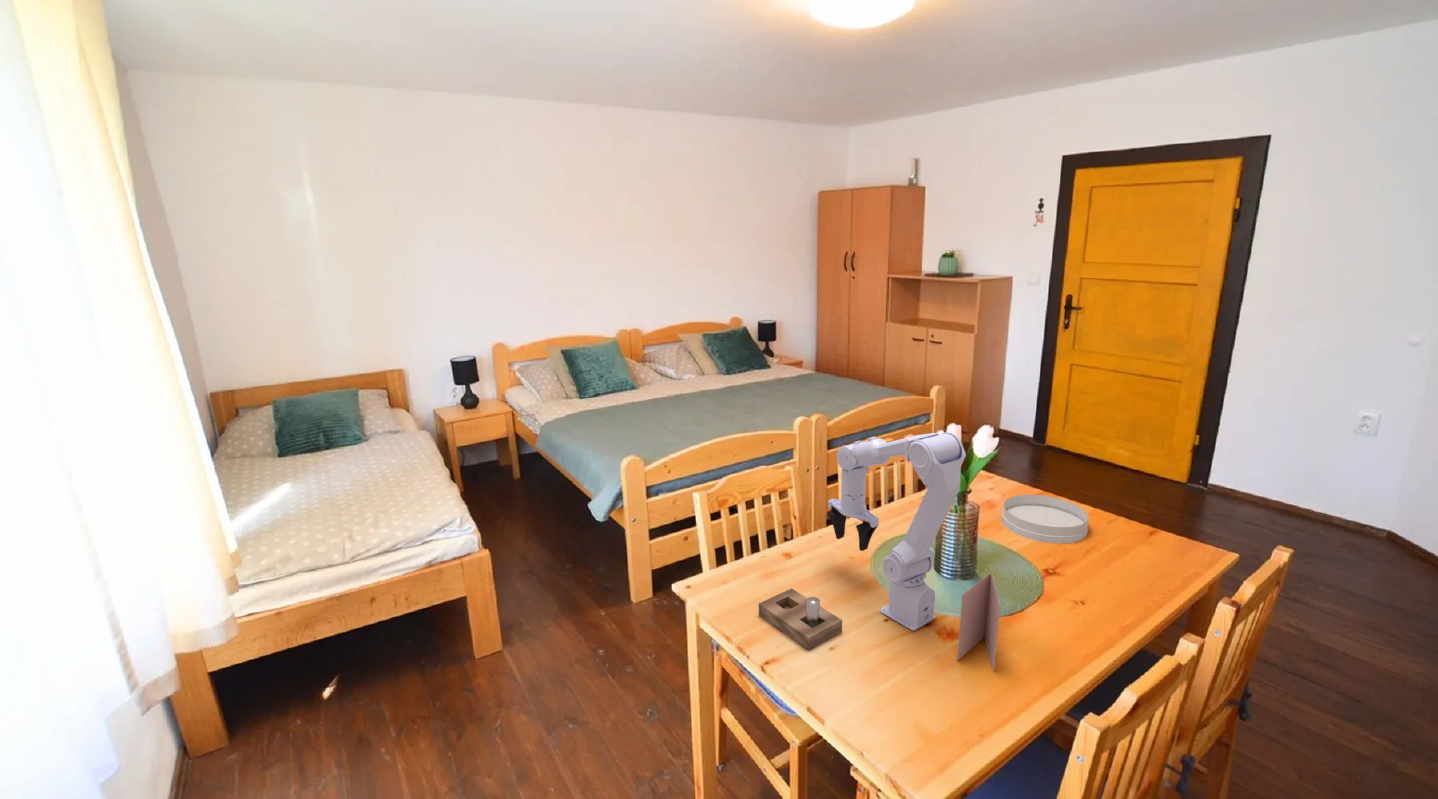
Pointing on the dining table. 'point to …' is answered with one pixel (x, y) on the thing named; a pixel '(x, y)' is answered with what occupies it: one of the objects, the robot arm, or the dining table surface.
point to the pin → (812, 611)
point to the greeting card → (979, 618)
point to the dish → (1045, 519)
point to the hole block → (799, 619)
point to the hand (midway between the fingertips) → (851, 543)
